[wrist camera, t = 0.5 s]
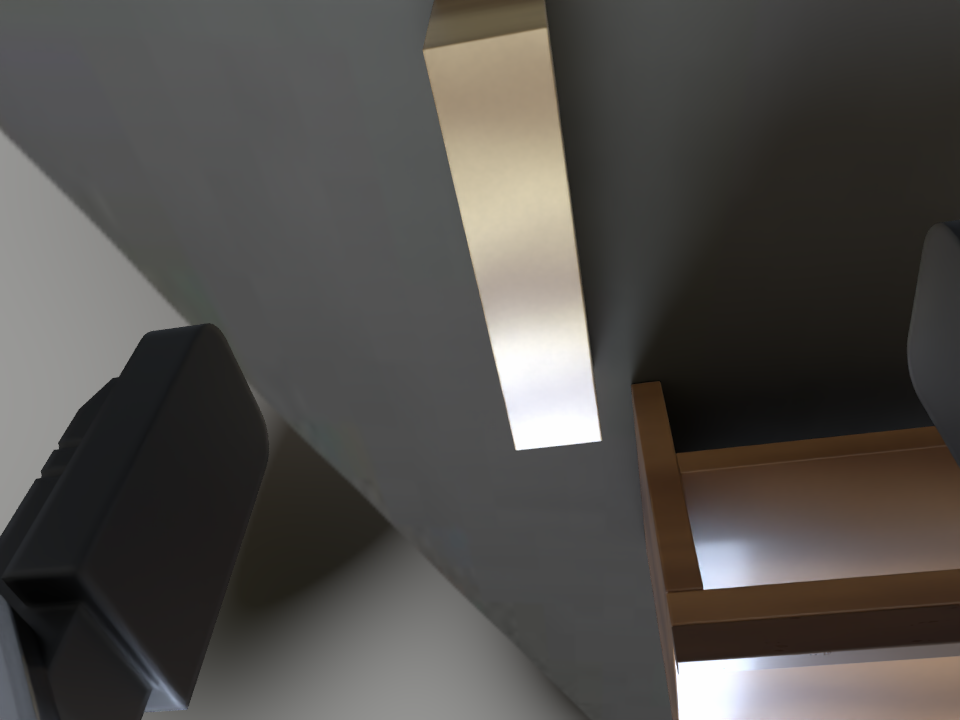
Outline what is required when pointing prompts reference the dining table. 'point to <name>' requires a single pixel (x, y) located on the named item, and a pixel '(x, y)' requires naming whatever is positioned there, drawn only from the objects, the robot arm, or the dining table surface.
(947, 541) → the shelf
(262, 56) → the dining table surface
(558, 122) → the beech stick
